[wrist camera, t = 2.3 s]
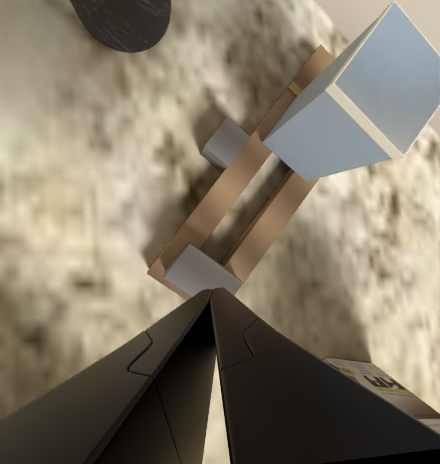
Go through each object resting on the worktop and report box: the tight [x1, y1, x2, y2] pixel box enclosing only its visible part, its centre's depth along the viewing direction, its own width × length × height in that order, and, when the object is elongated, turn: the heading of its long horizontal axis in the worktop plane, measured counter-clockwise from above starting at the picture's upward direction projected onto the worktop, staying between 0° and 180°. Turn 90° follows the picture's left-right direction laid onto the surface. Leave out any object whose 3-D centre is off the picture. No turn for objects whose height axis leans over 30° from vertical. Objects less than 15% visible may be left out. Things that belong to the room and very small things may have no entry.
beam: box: [147, 45, 335, 300], centre depth 20 cm, size 24×9×4 cm, turn 142°
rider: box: [262, 1, 440, 181], centre depth 17 cm, size 5×5×11 cm
